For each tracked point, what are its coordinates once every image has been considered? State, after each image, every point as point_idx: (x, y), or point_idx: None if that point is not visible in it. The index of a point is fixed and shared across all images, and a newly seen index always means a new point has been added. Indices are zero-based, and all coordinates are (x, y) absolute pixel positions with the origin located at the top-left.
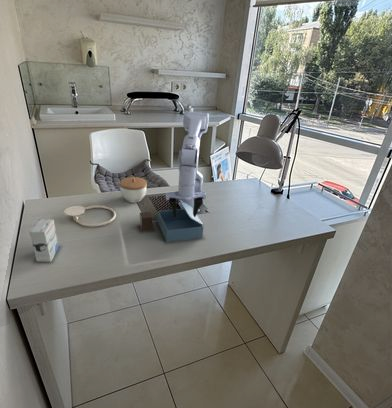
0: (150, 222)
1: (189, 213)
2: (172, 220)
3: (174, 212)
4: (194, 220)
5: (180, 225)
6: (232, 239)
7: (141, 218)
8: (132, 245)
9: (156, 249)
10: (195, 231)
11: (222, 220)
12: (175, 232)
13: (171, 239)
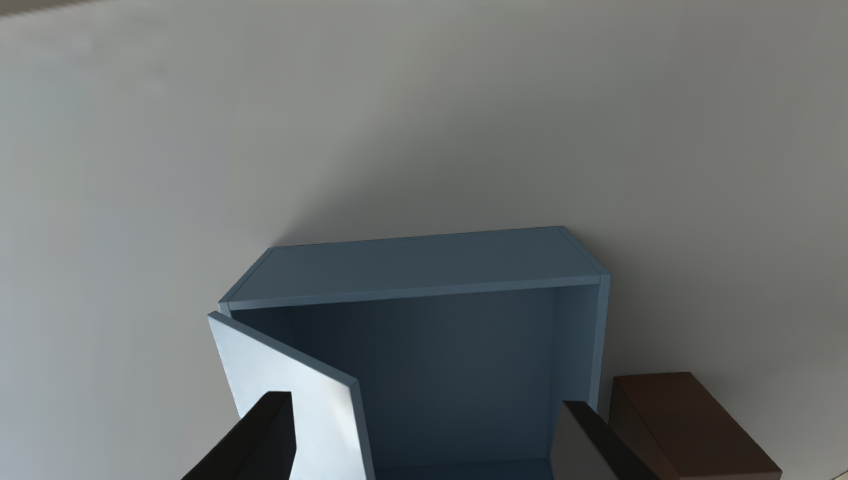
0: (667, 429)
1: (338, 475)
2: (449, 461)
3: (635, 470)
4: (297, 352)
5: (407, 406)
6: (7, 199)
7: (777, 467)
8: (819, 224)
9: (667, 147)
10: (312, 275)
11: (87, 435)
12: (512, 266)
13: (529, 237)
